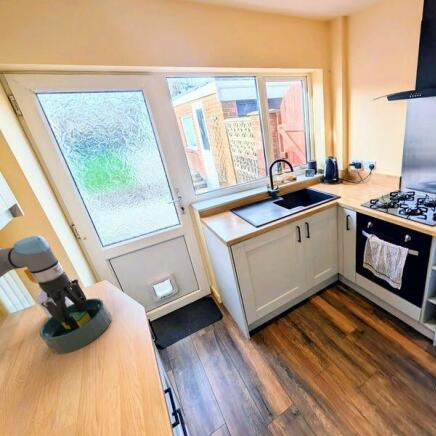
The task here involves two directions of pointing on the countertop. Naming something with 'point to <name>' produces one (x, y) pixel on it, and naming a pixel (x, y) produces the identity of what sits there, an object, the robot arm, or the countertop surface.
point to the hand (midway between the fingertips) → (81, 323)
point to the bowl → (74, 339)
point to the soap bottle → (43, 294)
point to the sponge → (78, 319)
